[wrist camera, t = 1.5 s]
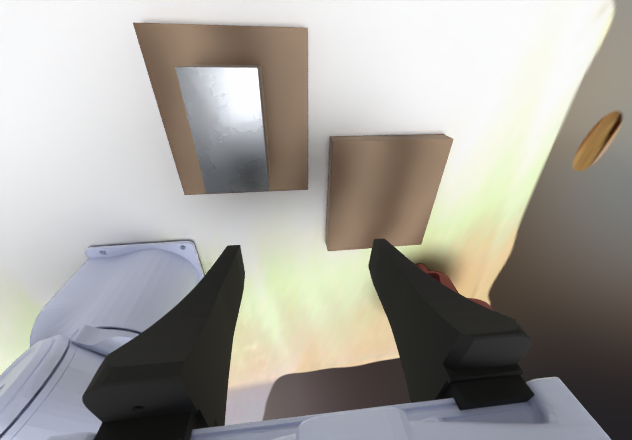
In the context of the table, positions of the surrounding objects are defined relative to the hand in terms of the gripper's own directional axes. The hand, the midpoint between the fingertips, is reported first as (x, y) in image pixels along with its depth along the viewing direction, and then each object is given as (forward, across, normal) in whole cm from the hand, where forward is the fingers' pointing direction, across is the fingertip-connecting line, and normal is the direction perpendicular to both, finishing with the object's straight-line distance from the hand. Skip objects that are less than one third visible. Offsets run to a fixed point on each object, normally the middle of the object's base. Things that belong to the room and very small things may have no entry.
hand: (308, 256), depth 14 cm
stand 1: (+10, +4, -5) cm, 12 cm away
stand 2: (+11, -8, +2) cm, 13 cm away
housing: (+9, +4, -5) cm, 11 cm away
